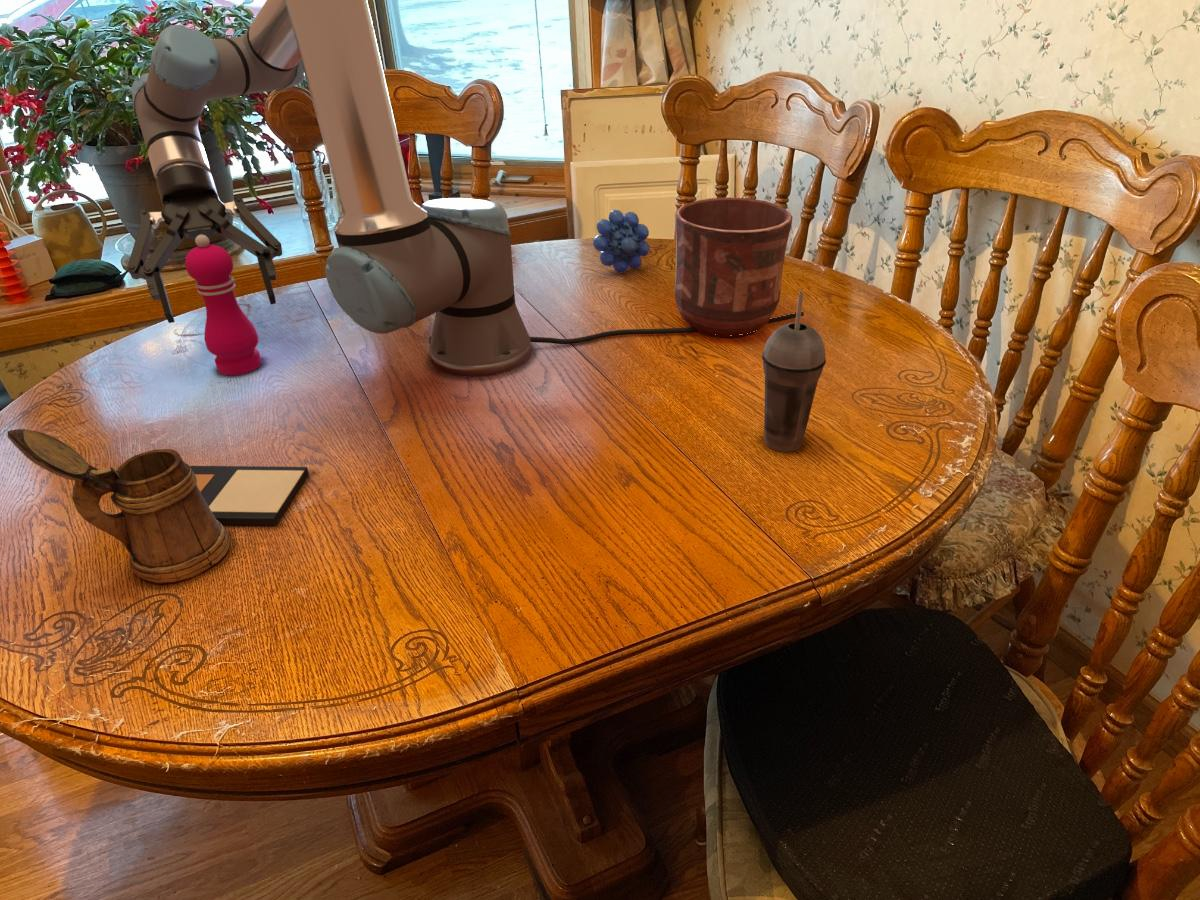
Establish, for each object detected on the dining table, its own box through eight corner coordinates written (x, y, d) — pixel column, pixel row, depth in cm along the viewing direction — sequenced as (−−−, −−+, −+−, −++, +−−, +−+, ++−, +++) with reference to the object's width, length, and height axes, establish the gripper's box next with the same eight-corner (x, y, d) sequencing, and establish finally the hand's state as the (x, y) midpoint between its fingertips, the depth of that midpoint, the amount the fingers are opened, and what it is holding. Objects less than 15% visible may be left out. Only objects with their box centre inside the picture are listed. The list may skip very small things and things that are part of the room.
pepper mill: (247, 379, 113) (207, 244, 103) (204, 375, 115) (159, 242, 104) (274, 357, 119) (239, 228, 109) (232, 354, 121) (193, 226, 110)
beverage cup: (816, 431, 98) (839, 279, 87) (809, 462, 92) (833, 304, 81) (758, 422, 100) (774, 273, 89) (748, 452, 94) (764, 296, 84)
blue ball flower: (604, 285, 142) (603, 219, 136) (588, 273, 147) (586, 210, 141) (660, 274, 146) (661, 210, 140) (642, 263, 151) (643, 201, 145)
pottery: (796, 315, 129) (810, 205, 119) (754, 356, 116) (766, 237, 107) (700, 295, 137) (705, 191, 127) (651, 331, 125) (653, 219, 115)
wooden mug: (82, 561, 80) (6, 410, 70) (222, 517, 86) (169, 371, 76) (86, 614, 73) (2, 455, 64) (237, 562, 79) (182, 409, 69)
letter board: (309, 473, 93) (307, 465, 92) (275, 526, 84) (273, 517, 84) (186, 472, 93) (184, 464, 93) (141, 524, 85) (138, 515, 84)
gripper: (275, 181, 122) (313, 303, 118) (94, 204, 112) (131, 337, 109) (271, 151, 115) (312, 281, 111) (78, 173, 105) (117, 315, 102)
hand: (222, 309), depth 110 cm, fingers open, 13 cm apart
